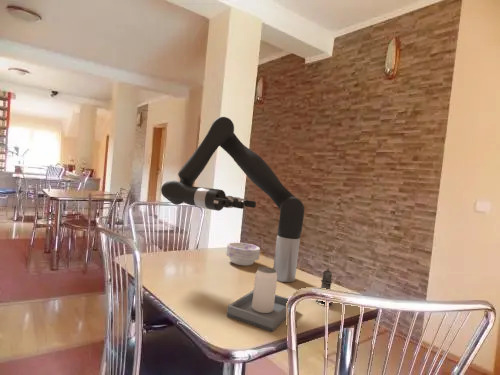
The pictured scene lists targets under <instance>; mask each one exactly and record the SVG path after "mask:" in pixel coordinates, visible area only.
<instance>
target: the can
mask: <svg viewBox="0 0 500 375" xmlns="http://www.w3.org/2000/svg"><path fill="white" fill-rule="evenodd" d="M276 272H277V271H276V270H275V269H273V268H272V267H269V266H259V267H258V268H257V271H256V272H255V277H254V283H253V290H254V292H253V300H252V308H253V310H254V311H256V312H258V313H263V314H267V313H271V312H272V311H273V308H274V301H275V295H276V292H277V284H278V280H277V274H276Z"/></svg>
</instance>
